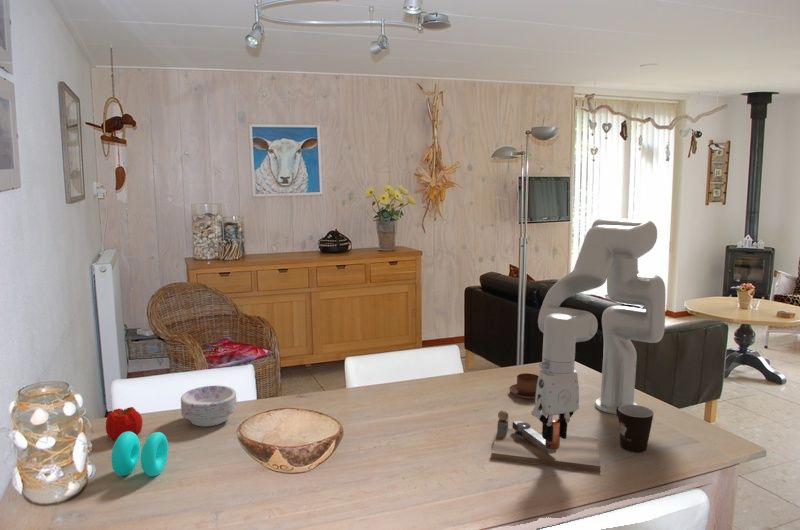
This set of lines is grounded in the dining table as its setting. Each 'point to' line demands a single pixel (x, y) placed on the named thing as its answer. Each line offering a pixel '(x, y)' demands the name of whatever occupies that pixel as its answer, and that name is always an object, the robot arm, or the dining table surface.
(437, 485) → the dining table surface
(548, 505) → the dining table surface
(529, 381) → the cup and saucer
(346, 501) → the dining table surface
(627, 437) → the coffee mug
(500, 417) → the wooden lever base
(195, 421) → the paper bowls
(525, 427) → the lever
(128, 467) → the donuts
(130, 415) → the tomato
